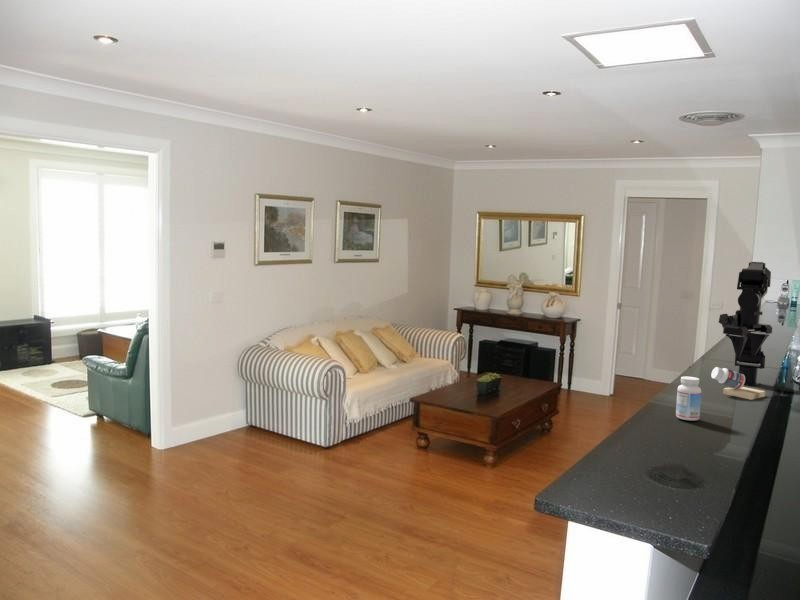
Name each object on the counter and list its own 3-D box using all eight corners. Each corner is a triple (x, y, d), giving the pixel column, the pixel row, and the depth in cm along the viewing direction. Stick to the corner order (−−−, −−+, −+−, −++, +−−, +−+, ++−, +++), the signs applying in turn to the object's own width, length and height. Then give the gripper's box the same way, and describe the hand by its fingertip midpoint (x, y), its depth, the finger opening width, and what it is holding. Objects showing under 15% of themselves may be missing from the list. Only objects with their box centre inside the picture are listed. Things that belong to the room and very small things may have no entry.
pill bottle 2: (746, 383, 202) (720, 374, 202) (736, 392, 206) (710, 383, 206) (744, 371, 206) (718, 362, 206) (734, 380, 210) (709, 371, 210)
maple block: (737, 393, 213) (737, 385, 212) (765, 398, 205) (765, 391, 205) (722, 395, 208) (723, 388, 207) (750, 401, 200) (751, 394, 200)
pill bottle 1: (698, 416, 177) (701, 377, 176) (700, 422, 171) (703, 381, 171) (674, 414, 179) (677, 374, 178) (676, 419, 173) (679, 378, 172)
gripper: (741, 304, 216) (737, 350, 218) (709, 305, 206) (705, 353, 207) (774, 308, 207) (770, 355, 208) (743, 309, 197) (739, 359, 198)
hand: (745, 355), depth 206 cm, fingers open, 9 cm apart
